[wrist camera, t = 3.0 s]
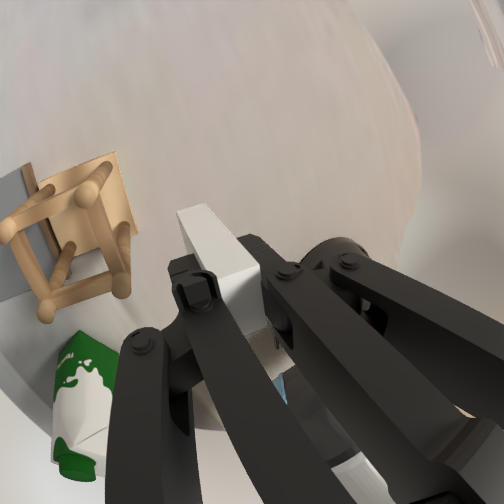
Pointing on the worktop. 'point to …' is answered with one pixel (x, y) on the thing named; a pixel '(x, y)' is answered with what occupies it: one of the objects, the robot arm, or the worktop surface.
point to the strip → (45, 222)
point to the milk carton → (82, 408)
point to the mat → (3, 259)
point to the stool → (76, 233)
